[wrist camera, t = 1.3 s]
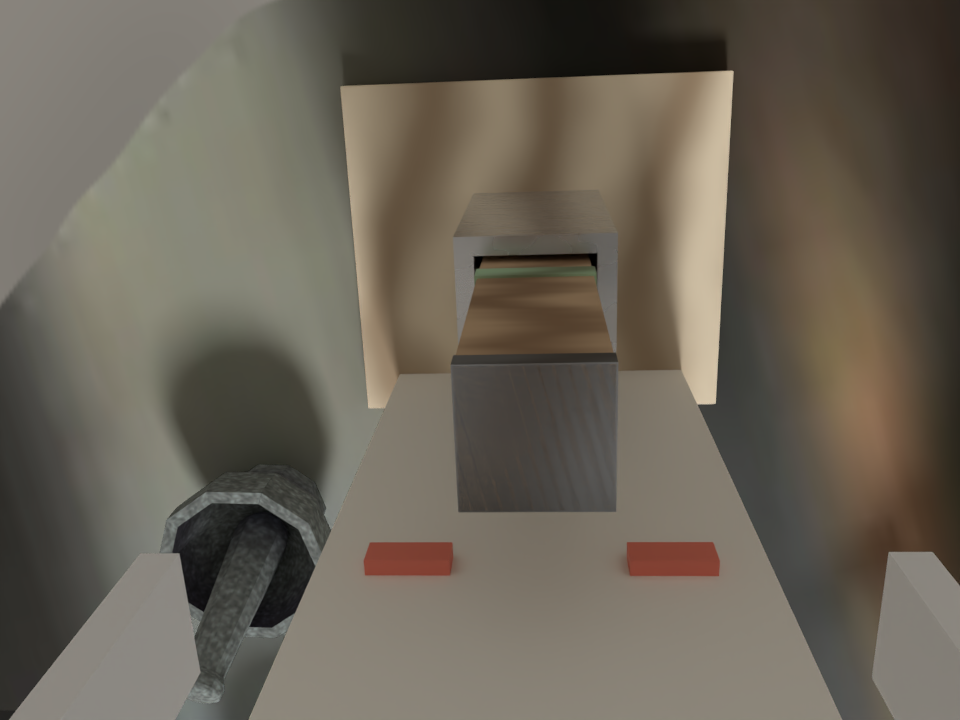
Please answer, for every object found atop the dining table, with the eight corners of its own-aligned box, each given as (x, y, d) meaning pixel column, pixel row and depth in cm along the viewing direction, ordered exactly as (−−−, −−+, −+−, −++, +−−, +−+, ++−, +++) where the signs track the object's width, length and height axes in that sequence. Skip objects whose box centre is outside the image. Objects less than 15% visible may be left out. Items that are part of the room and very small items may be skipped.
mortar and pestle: (221, 417, 53) (135, 514, 42) (367, 462, 54) (321, 571, 42) (187, 566, 57) (100, 692, 46) (324, 607, 57) (272, 742, 46)
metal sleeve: (598, 189, 46) (618, 232, 34) (597, 309, 48) (616, 387, 37) (473, 193, 46) (452, 237, 35) (478, 312, 48) (460, 389, 37)
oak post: (579, 210, 46) (620, 360, 23) (579, 295, 47) (618, 513, 25) (492, 213, 46) (448, 362, 23) (495, 296, 47) (456, 513, 25)
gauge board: (681, 359, 49) (859, 733, 22) (680, 389, 49) (852, 790, 22) (399, 364, 50) (235, 724, 23) (401, 393, 50) (244, 777, 23)
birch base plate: (727, 70, 45) (733, 70, 43) (710, 394, 51) (715, 403, 49) (346, 85, 46) (340, 86, 45) (373, 398, 52) (368, 408, 51)
